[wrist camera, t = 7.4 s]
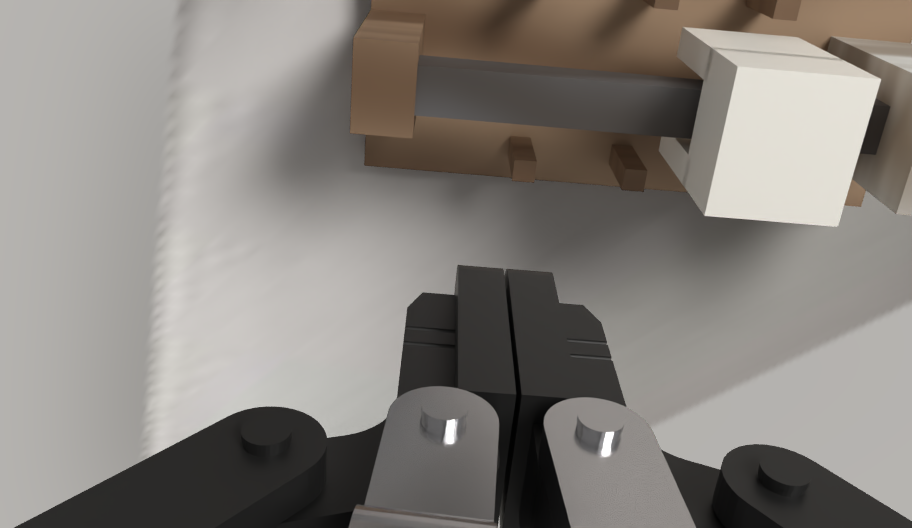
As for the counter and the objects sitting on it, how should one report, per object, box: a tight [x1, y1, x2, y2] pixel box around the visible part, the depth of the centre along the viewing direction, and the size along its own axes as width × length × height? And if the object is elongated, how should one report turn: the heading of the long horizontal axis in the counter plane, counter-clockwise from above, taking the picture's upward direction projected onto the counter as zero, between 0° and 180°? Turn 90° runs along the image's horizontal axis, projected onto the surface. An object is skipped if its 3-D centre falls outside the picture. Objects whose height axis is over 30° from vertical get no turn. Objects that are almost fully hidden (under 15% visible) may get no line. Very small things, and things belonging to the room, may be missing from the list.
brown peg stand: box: [350, 0, 912, 215], centre depth 29 cm, size 9×20×9 cm, turn 85°
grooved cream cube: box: [659, 27, 881, 227], centre depth 27 cm, size 4×4×6 cm
